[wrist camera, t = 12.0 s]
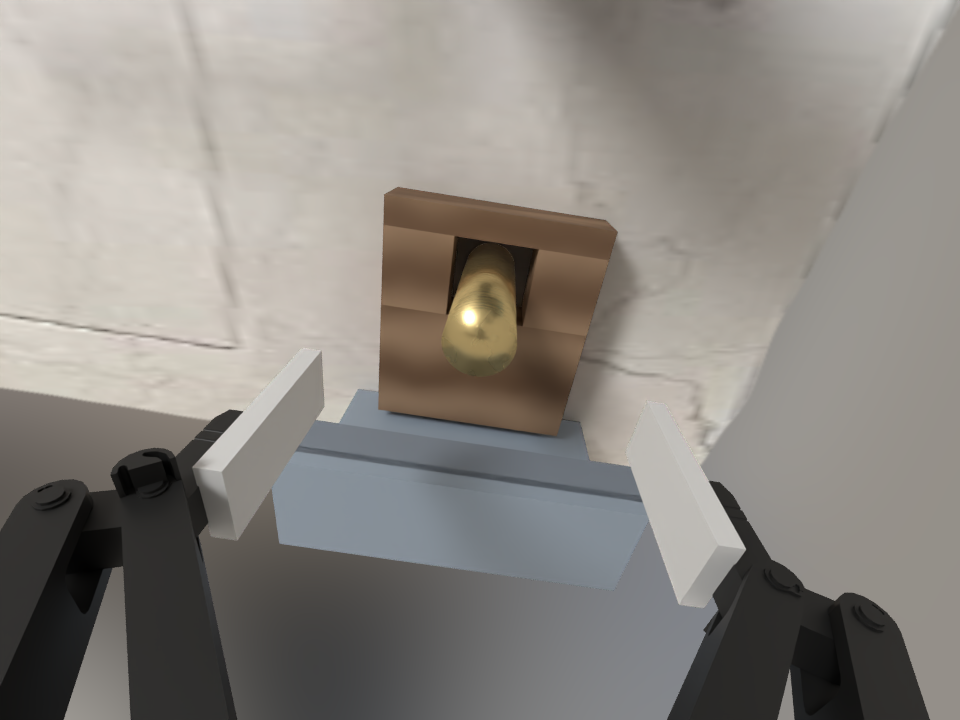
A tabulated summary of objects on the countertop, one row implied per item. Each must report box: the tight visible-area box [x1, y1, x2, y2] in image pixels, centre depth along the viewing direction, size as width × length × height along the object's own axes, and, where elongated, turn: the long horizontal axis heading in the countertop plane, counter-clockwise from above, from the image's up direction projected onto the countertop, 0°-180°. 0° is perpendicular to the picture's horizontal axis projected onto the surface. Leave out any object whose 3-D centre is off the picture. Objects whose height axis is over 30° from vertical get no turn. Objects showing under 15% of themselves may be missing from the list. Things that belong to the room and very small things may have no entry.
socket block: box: [378, 187, 617, 436], centre depth 35 cm, size 18×16×4 cm
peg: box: [441, 243, 517, 377], centre depth 28 cm, size 4×4×14 cm
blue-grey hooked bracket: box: [272, 389, 649, 591], centre depth 33 cm, size 7×22×16 cm, turn 82°
